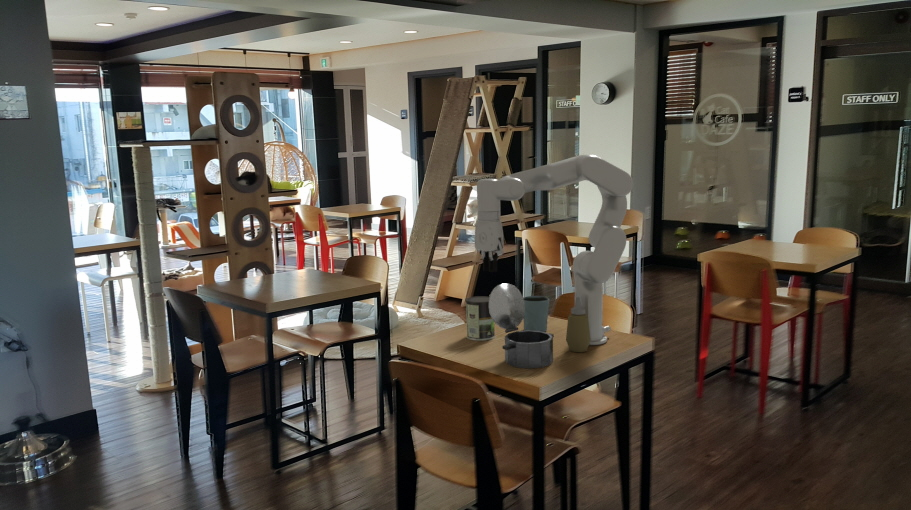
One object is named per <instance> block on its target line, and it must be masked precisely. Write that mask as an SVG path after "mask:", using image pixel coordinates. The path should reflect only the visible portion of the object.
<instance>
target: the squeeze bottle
mask: <svg viewBox="0 0 911 510" xmlns="http://www.w3.org/2000/svg"><path fill="white" fill-rule="evenodd" d="M565 340H566V344H567V347H568V349H569V351H570V352H574V353H584V352H586V351H588V348H589V346H590V345H589V343H590V330H589V320H588V316H587V315H586V314H585V308H583V307H582V305H581V300H580V298H579V297H577V298H576V302H575V301H574V306H573V307H571V308H570V314H568V317H567V326H566V335H565Z"/></svg>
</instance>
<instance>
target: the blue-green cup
mask: <svg viewBox="0 0 911 510" xmlns="http://www.w3.org/2000/svg"><path fill="white" fill-rule="evenodd" d="M523 299H524V303H525V314H524V317H523V320H522V322H523V331H528V330H530V331H541V332H545V333H546V332H547V331H548V318H549V306H550V298H549V297H547V296H542V295H528V296H524V297H523Z"/></svg>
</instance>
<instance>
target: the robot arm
mask: <svg viewBox="0 0 911 510" xmlns="http://www.w3.org/2000/svg"><path fill="white" fill-rule="evenodd" d="M583 181H589V182H590V183H592V184H594V185H596V187H597V188H598V191H599V193H600V195H601V200H602V204H601V206H600V207H601V208H600V210H599V213H598V215H597V217H596V219H595V221H594V223H593V225H592V227H591V229H590V231H589V234H588V243H589V244H590V245H591V246H592V247H593V248H594V249H593V251H591V250H583V251H580V252H579V253H577V255H576V256H574V257H575V258H574V259H573V261H572V262H573V263H572V273H573V281H574V303H575V302H576V298H577V297H579V298H580V300H581V305H582V307H583V308H585V314H586V315H587V316H588V320H589V330H590V343H589V346H598V345H604V344H605V343H607V342H608V337H607V335H605V334H606V332H607V333H608V332H610V331H611V326H610V325H607V326H606V325H605V326H604V325H603V315H604V314H603V313H604V312H603V311H604V310H603V307H604V305H603V304H604V302H603V300H604V298H603V297H604V295H603V294H604V290H603V284H604V283H606V282H607V281H608V280H610V279H611V277H612V276H613V274H614V272H615V270H616V268H617V266H618V264H619V261H620V260H621V258H622V256H623V254H624V251H625V249H626V244H627V235H626V233H625V231H624V229H623V228H621V227H622V224H623V222H624V219H625V217H626V214H627V211H628V210H627V209H628V199H627V195H629V194H630V193H631V192H632V190H633V187H634V180H633V178H632V176H631V175H630V174H629V173H628V172H627V171H625V170H623V169H621V168H620V167H617V166H616V165H615V164H612V163H610V162H609V161H607V160H605V159H603V158H601V157H600V156H597V155H595V154H580V155H576V156H572V157H569V158H566V159H562V160H559V161H555V162H552V163H548V164H545V165H540V166H537V167H534V168H531V169H530V168H529V169H526V170H522V171H519V172H515V173H511V174H508V175H505V176H502V177H501V178H499V179H497V178H482V179H479V180H478V181H477V182H476V191H477V192H476V195H477V197H476V198H477V200H476V201H477V219H476V223H475V226H474V227H475V228H474V230H475V231H474V248H475V251H477V252H478V253H479V254H480V256H481V259H482V271H483V272H489V273H494V272H495V273H496V272H498V260H499V258H500V256H502V255H504V253H505V252H504V245H505V244H504V230H503V224H502V220H501V201H511V202H513V201H519V200H520V199H522V198H523V197H524V195H525V194H526V193H530V192H535V191H536V192H537V191H551V190H556V189H560V188H563V187H565V186H569V185H572V184H576V183H580V182H583Z"/></svg>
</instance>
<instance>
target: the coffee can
mask: <svg viewBox="0 0 911 510" xmlns="http://www.w3.org/2000/svg"><path fill="white" fill-rule="evenodd" d="M489 297H490V296H485V295H484V296H483V295H481V296H480V295H477V296H476V295H475V296H470V297H466V298H465V312H466V313H465V315H466V339H468V340H469V341H470V340H471V341H477V342H478V341H479V342H483V341H490V340H493V339H494V338H495V337H496V335H495V322H494V321H493V319H492V317H491V315H490V312H489Z"/></svg>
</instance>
